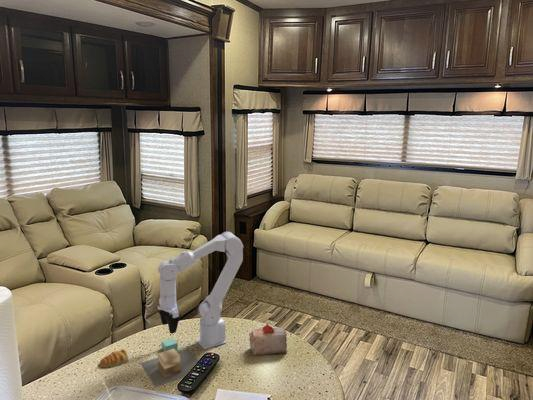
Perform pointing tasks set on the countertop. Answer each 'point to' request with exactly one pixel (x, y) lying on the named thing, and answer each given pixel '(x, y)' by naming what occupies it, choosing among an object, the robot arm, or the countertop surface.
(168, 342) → the teal block
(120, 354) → the pastry
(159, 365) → the tower base
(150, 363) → the mat
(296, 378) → the countertop surface
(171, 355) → the tower mid
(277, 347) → the food item
